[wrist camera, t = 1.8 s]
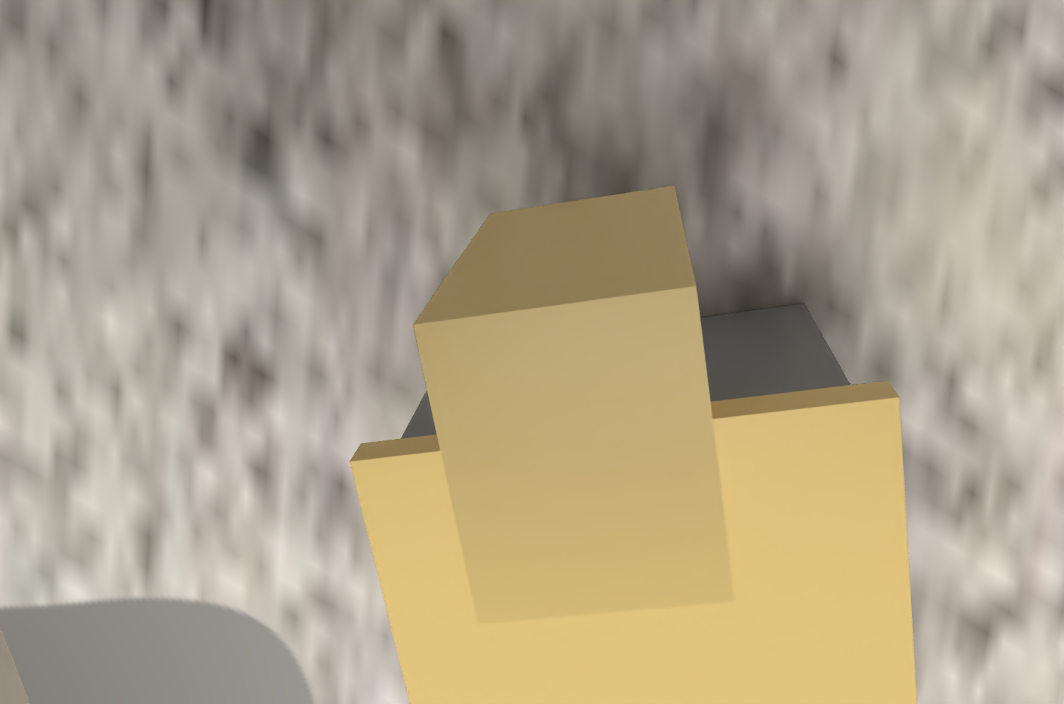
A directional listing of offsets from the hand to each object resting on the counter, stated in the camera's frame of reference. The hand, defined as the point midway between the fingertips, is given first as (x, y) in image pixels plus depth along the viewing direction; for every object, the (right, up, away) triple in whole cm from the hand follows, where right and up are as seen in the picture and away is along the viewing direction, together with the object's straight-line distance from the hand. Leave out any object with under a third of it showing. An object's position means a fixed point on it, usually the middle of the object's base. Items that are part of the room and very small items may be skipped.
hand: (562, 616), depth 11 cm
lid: (+2, -4, +14) cm, 15 cm away
